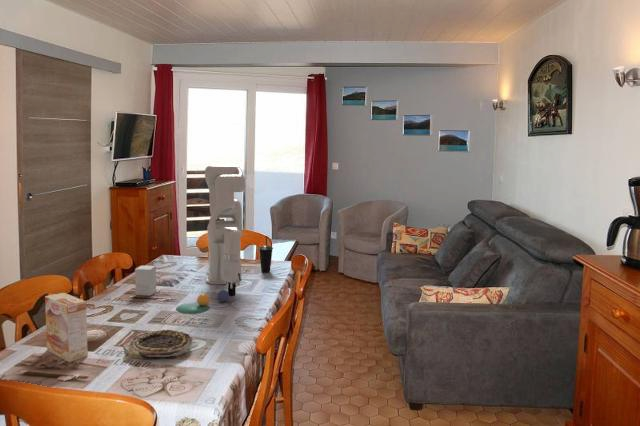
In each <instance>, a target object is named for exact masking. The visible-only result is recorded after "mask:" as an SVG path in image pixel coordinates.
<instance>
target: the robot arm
mask: <svg viewBox="0 0 640 426" xmlns="http://www.w3.org/2000/svg"><path fill="white" fill-rule="evenodd" d="M204 179H205V182H206V184H207V187H208V191H209V192H208V193H209V196H208V197H209V213H210V217H209V221H208V224H207V228H206V230H207V237H208V251H209V252H208V254H209V255H208V272H206V275H207V276H208V277H207V278H206V279H205V282H206V284H210V285H226V287H227V292H228V293H229V298H231V297H236V290H237V289H236V288H237V287H239V286H240V285H241V282H242V276H243V272H242V264H241V239H242V238H241V237H242V236H243V214H242V213H243V211H242V209H243V207H242V203H241V202H240V200H238V199H236V198H235V193H243V192H244V191H245V189H246V179H245V176H244V174H243V171H242V169H241V167H240V166H239V165H235V164H212V165H207V166H206V167H205V169H204ZM217 219H232V220H217Z"/></svg>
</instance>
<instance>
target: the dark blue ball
mask: <svg viewBox="0 0 640 426" xmlns="http://www.w3.org/2000/svg"><path fill="white" fill-rule="evenodd" d="M216 299H217V300H218V301H219V302H220V303H225V302H228V301H229V299H230V296H229V293H228V290H226V289H222V290H219V291H218V292H217V294H216Z"/></svg>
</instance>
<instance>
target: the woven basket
mask: <svg viewBox="0 0 640 426" xmlns="http://www.w3.org/2000/svg"><path fill="white" fill-rule="evenodd" d="M192 345H193V338H192V337H191V335H190V334H188V333H186V332H183V331H178V330H173V329H161V330H155V331H152V332H148V331H145V332H143V333H139V334H138V335H135V336H134V337H133V338H131V340H130V341H129V342H128V343H127V344H125V345H123V348H125V349H124V351H125V354H126V356H124V357H123V360H124V362H127V360H130V359H131V358H132V359H135V358H136V359H140V360H148V359H151V360H152V359H154V360H155V359H156V360H160V359H162V360H163V359H176V358H177V357H180V355H185V354H187V353H188V351H189V349H190V347H191V346H192ZM131 365H133V364H132V363H131Z"/></svg>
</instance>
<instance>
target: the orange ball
mask: <svg viewBox="0 0 640 426" xmlns="http://www.w3.org/2000/svg"><path fill="white" fill-rule="evenodd" d="M210 298H211V297H210V295H208V294H207V293H201V294H199V295H198V296H197V298H196V303H198V304H199V305H200V306H206V305H208V306H209V304H210V302H211V299H210Z"/></svg>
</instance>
